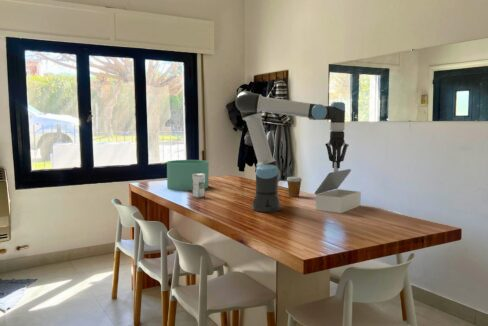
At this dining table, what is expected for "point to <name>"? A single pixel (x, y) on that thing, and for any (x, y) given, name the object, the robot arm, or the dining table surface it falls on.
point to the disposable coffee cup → (294, 186)
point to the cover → (332, 181)
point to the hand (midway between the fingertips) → (335, 174)
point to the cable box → (338, 200)
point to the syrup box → (198, 185)
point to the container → (185, 173)
